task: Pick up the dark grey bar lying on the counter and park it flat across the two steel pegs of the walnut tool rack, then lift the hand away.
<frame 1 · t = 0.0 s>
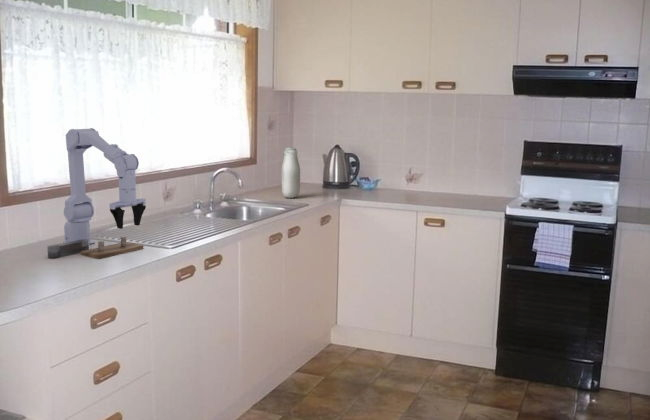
hand: (128, 226, 247), 10 cm above the countertop, fingers open, 7 cm apart
tool rack: (112, 251, 252), on the countertop
dark grey bar: (68, 254, 247), on the countertop
glass bottle: (290, 198, 384), on the countertop
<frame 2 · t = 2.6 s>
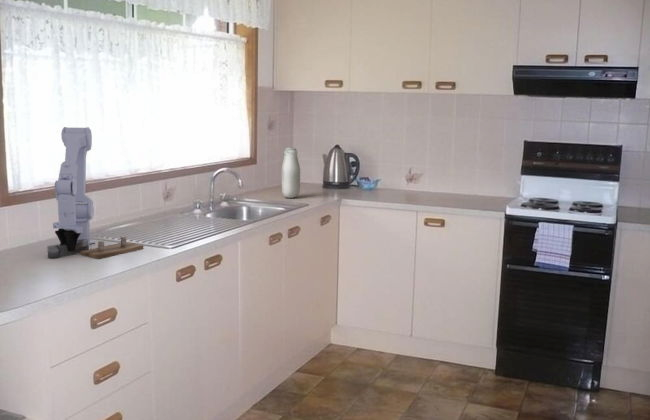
hand: (68, 250, 247), 1 cm above the countertop, fingers closed on dark grey bar, 3 cm apart
dark grey bar: (68, 254, 247), on the countertop, touching gripper
everything else where it was.
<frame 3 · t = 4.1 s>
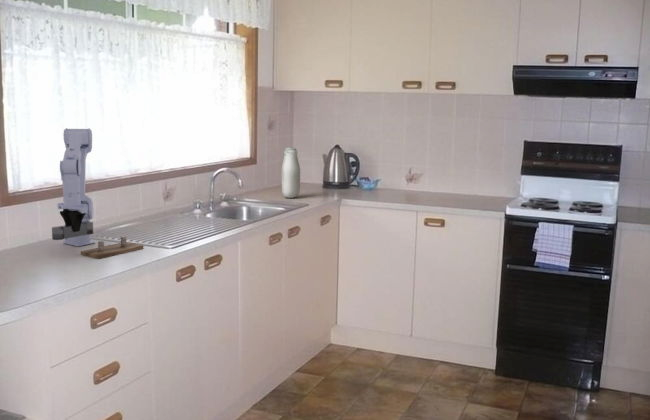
hand: (73, 230, 246), 8 cm above the countertop, fingers closed on dark grey bar, 3 cm apart
dark grey bar: (73, 236, 247), point 7 cm above the countertop, touching gripper
everything else where it was.
when the fingers open (7 cm above the countertop, at t = 5.5 s): dark grey bar stays where it is, resting on tool rack.
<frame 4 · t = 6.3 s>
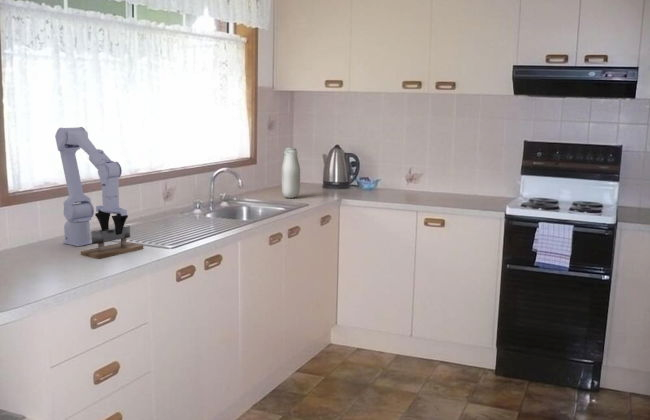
hand: (112, 233, 251), 7 cm above the countertop, fingers open, 7 cm apart
dark grey bar: (111, 239, 251), point 4 cm above the countertop, touching tool rack
everything else where it was.
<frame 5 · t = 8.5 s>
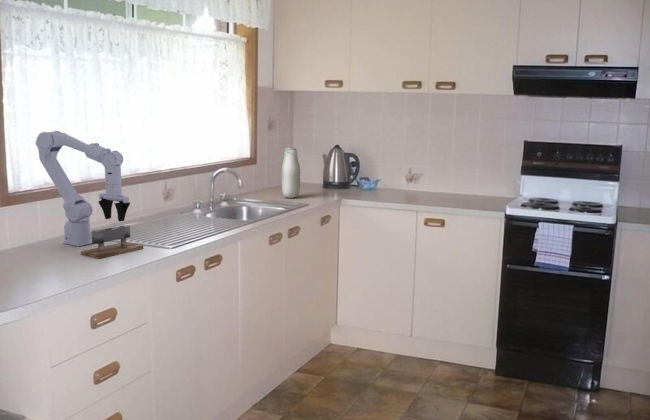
hand: (114, 219, 260), 10 cm above the countertop, fingers open, 7 cm apart
nothing on the countertop moved.
at the end: dark grey bar 0.4 cm off-centre on the tool rack, point 4.5 cm above the tool rack's base; dark grey bar tilted 0°; the gripper is holding nothing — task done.
